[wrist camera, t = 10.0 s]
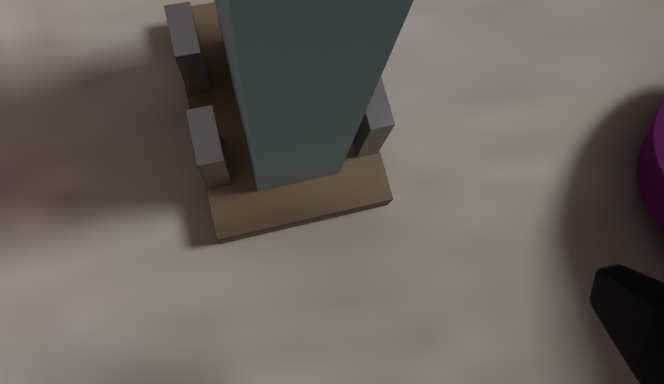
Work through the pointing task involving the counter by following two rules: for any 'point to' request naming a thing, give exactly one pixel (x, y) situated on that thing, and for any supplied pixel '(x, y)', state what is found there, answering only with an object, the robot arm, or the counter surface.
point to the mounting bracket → (653, 169)
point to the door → (305, 78)
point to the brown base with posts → (232, 152)
